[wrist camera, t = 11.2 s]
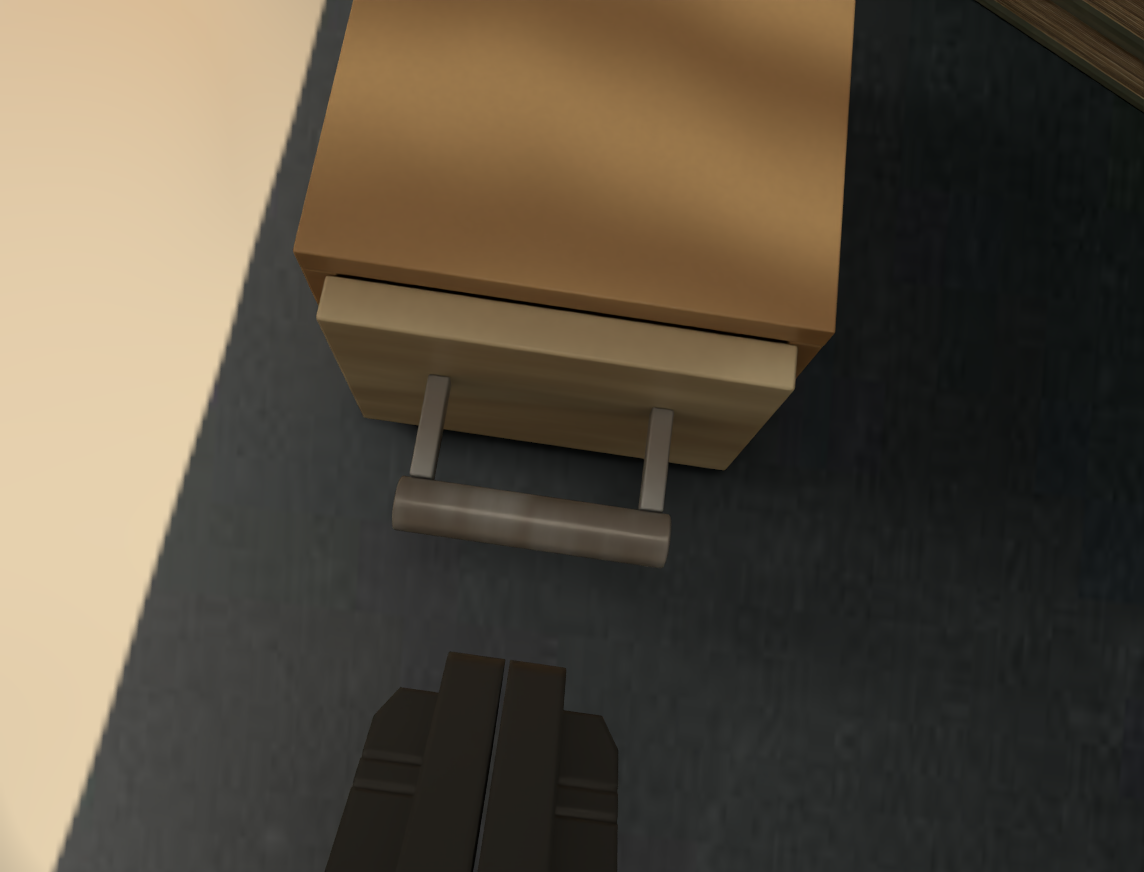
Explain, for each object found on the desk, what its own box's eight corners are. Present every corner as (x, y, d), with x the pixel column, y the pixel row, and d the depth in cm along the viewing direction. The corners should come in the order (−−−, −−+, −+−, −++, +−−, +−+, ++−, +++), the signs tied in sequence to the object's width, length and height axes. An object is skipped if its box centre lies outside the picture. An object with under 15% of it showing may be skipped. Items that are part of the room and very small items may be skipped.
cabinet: (740, 446, 32) (836, 333, 23) (355, 389, 32) (291, 251, 22) (773, 70, 36) (865, -157, 27) (434, 17, 36) (408, -231, 27)
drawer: (713, 603, 30) (783, 563, 22) (335, 548, 29) (275, 489, 22) (759, 107, 35) (828, -64, 27) (437, 57, 35) (417, -130, 27)
